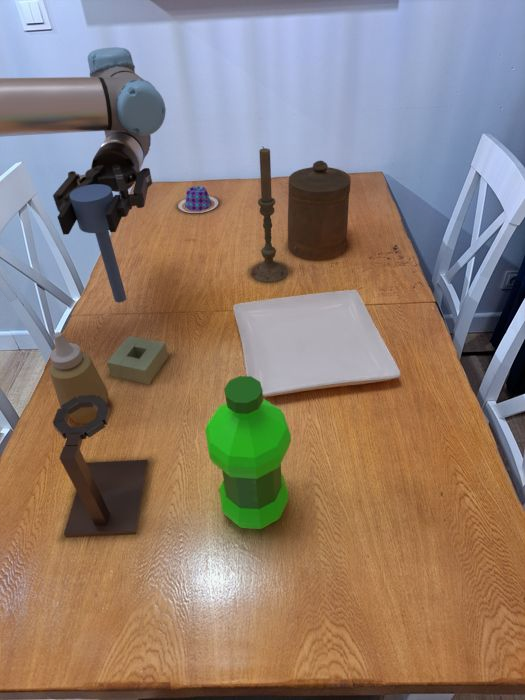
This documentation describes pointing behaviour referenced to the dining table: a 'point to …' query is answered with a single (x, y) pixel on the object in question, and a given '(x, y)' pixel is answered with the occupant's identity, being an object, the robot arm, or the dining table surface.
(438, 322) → the dining table surface
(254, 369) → the square plate
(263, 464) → the plastic bottle
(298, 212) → the wooden container
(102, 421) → the peg stand
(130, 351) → the socket block
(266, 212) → the candlestick holder
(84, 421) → the squeeze bottle
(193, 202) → the pudding
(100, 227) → the peg
